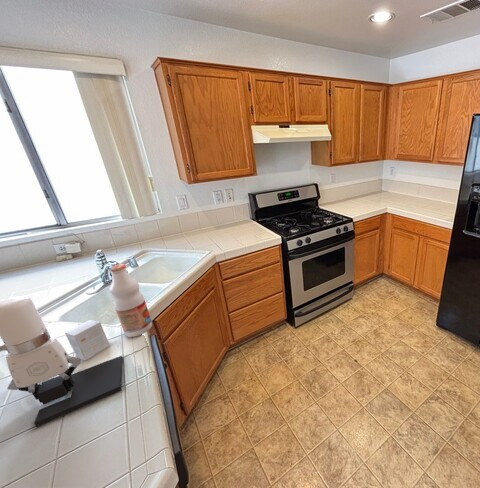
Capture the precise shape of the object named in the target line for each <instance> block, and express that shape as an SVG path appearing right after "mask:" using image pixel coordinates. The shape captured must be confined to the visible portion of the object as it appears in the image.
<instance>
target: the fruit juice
mask: <svg viewBox="0 0 480 488" xmlns="http://www.w3.org/2000/svg"><path fill="white" fill-rule="evenodd" d="M108 270H109V273H111V277H112V278H111V280H112V281H111V283H110V285H109V288H108V292H109V294H110V296H111V297H112V298H113V306H114V309H115V313H116V315H117V317H118V321H119V323H120V326H121V328H122V331H123V333H124V335H125V336H126V337H129V338H133V337H138V336H141V335H143V334H145V333H147V332H149V331H150V330H151V329H152V327H153V320H152V318H151V315H150V312H149V308H148V306H147V301H146V299H145V297H144V294H143V293H142V291H140V283H139V281H138V279H136V278H134V277H132V276H130V274H129V273H128V271H127V265H126V264H125V263H118V264H113V265H112V266H110V267H109V268H108Z"/></svg>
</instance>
